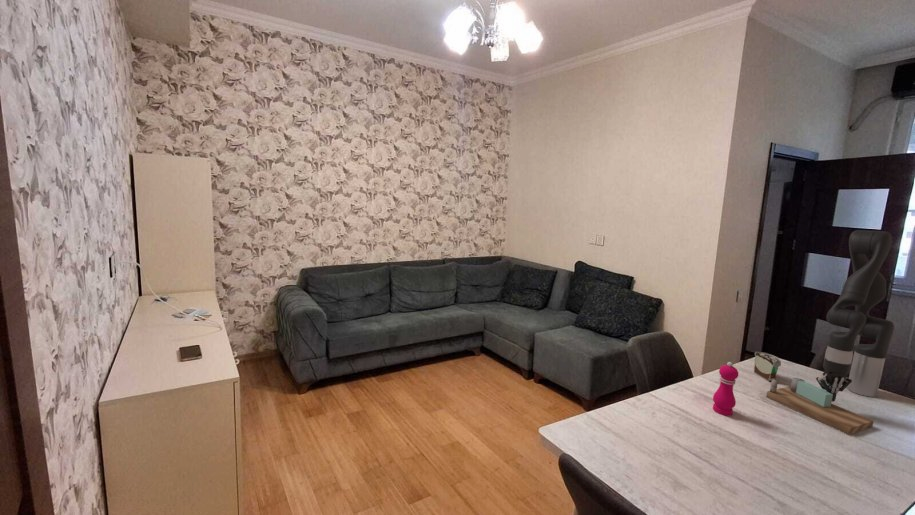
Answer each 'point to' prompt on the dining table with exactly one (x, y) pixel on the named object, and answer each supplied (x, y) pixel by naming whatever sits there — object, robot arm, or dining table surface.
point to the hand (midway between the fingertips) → (829, 400)
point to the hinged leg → (811, 392)
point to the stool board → (819, 410)
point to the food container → (766, 365)
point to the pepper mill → (725, 390)
